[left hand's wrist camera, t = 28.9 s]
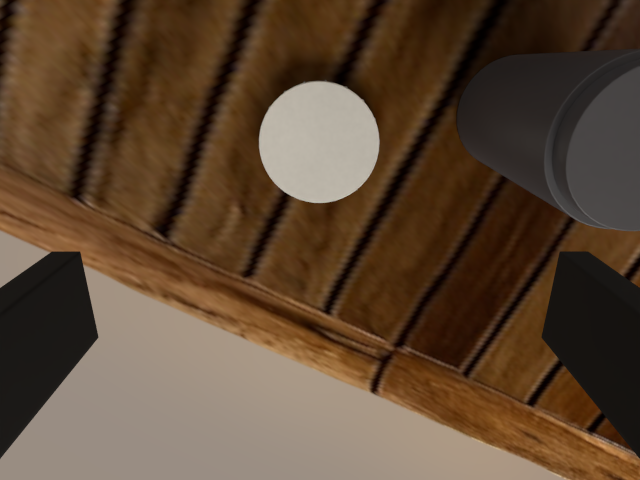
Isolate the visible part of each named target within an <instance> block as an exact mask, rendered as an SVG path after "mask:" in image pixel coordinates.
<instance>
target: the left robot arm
mask: <svg viewBox="0 0 640 480" xmlns="http://www.w3.org/2000/svg"><path fill="white" fill-rule="evenodd" d="M97 338H98V333H97V329H96V324H95V319H94V314H93V310H92V305H91V300H90V296H89V291H88V286H87V282H86V277H85V272H84V268H83V263H82V258H81V253H80V252H51V253H50V254H48V255H47V256H45V257H44V258H42V259H41V260H40V261H38V262H37V263H35V264H34V265H32V266H31V267H30V268H28V269H27V270H25V271H24V272H22V273H21V274H20V275H18V276H17V277H15V278H14V279H12V280H11V281H10V282H8V283H7V284H5V285H4V286H2V287H1V288H0V458H1V457H2V456H3V455H4V453H5V452H6V451H7V450H8V448H9V447H10V446H11V445H12V443H13V442H14V441H15V440H16V438H17V437H18V436H19V435H20V434H21V432H22V431H23V430H24V429H25V427H26V426H27V425H28V424H29V422H30V421H31V420H32V419H33V418H34V416H35V415H36V414H37V413H38V411H39V410H40V409H41V408H42V406H43V405H44V404H45V403H46V401H47V400H48V399H49V398H50V397H51V395H52V394H53V393H54V391H55V390H56V389H57V388H58V387H59V385H60V384H61V383H62V382H63V380H64V379H65V378H66V377H67V375H68V374H69V373H70V372H71V371H72V369H73V368H74V367H75V366H76V364H77V363H78V362H79V361H80V359H81V358H82V357H83V356H84V354H85V353H86V352H87V351H88V350H89V348H90V347H91V346H92V345H93V343H94V342H95V341H96V340H97ZM542 339H543V340H544V341H545V342H546V343H547V345H548V346H549V347H550V348H551V350H552V351H553V352H554V353H555V355H556V356H557V357H558V358H559V360H560V361H561V362H562V363H563V364H564V366H565V367H566V368H567V369H568V371H569V372H570V373H571V374H572V376H573V377H574V378H575V379H576V380H577V382H578V383H579V384H580V385H581V387H582V388H583V389H584V390H585V392H586V393H587V394H588V395H589V397H590V398H591V399H592V400H593V401H594V403H595V404H596V405H597V406H598V408H599V409H600V410H601V411H602V413H603V414H604V415H605V416H606V418H607V419H608V420H609V421H610V422H611V424H612V425H613V426H614V427H615V429H616V430H617V431H618V432H619V434H620V435H621V436H622V437H623V438H624V440H625V441H626V442H627V443H628V445H629V446H630V447H631V448H632V450H633V451H634V452H635V453H636V455H637V456H638V457H639V458H640V288H639V287H638V286H636V285H635V284H633V283H632V282H630V281H629V280H628V279H626V278H625V277H623V276H622V275H620V274H619V273H618V272H616V271H615V270H613V269H612V268H610V267H609V266H608V265H606V264H605V263H603V262H602V261H600V260H599V259H598V258H596V257H595V256H593V255H592V254H590V253H589V252H560V253H559V258H558V263H557V268H556V272H555V277H554V282H553V286H552V291H551V296H550V300H549V305H548V310H547V314H546V319H545V324H544V329H543V333H542Z"/></svg>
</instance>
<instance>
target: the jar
mask: <svg viewBox="0 0 640 480" xmlns="http://www.w3.org/2000/svg"><path fill="white" fill-rule="evenodd" d="M457 128H458V133H459V136H460V139H461V141H462V143H463V145H464V147H465V148H466V150H467V151H468V152H469V153H470V154H471V155H472V156H473V157H474V158H475V159H477V160H479V161H480V162H482V163H483V164H485V165H487V166H488V167H490V168H492V169H493V170H495V171H497V172H498V173H500V174H502V175H503V176H505V177H506V178H508V179H510V180H511V181H513V182H515V183H516V184H518V185H520V186H521V187H523V188H525V189H526V190H528V191H529V192H531V193H533V194H534V195H536V196H538V197H539V198H541V199H543V200H544V201H546V202H547V203H549V204H551V205H552V206H554V207H556V208H557V209H559V210H561V211H562V212H564V213H566V214H567V215H569V216H570V217H572V218H574V219H575V220H577V221H579V222H581V223H584V224H586V225H589V226H593V227H597V228H604V229H616V230H623V231H640V49H625V50H604V51H583V52H562V53H541V54H520V55H511V56H506V57H503V58H500V59H498V60H495V61H493V62H492V63H490V64H488V65H487V66H485V67H484V68H483V69H481V70H480V71H479V72H478V73H477V74H476V75H475V76H474V77H473V78H472V80H471V81H470V82H469V84H468V85H467V87H466V88H465V90H464V92H463V94H462V96H461V99H460V102H459V106H458V111H457Z"/></svg>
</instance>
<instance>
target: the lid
mask: <svg viewBox="0 0 640 480" xmlns="http://www.w3.org/2000/svg"><path fill="white" fill-rule="evenodd" d="M375 120H376V119H375V118H374V116H373V114H372V112H371V111H370V109H369V107H368V106H367V105H366V104H365V102H364V100H363V99H361V98H360V97H359V96H358V95H356V94H355V93H354V92H353V91H351V90H350V89H348V87H347V86H345V87H344V86H342V85H340V84H337V83H334V82H328V81H327V80H325V81H310V82H303V83H302V84H299V85H296V86H294V87H292V88H291V89H289V90H287V91H286V90H285V91H284V93H283V94H282V95H281V96H279V97H278V98H277V99H276V100H275V101H274V103H273V104H272V105H271V106H270V107H269V109H268V111H267V113H266V115H265V117H264V119H263V122H262V125H261V126H260V128H261V129H260V135H259V149H260V155H261V159H262V162H263V165H264V167H265V169H266V171H267V173H268V175H269V176H270V178H271V179H272V180H273V182H274V183H275V184H276V185H277V186H278V187H279V188H281V189H282V190H283V191H284V192H286V193H287V194H289V195H291V196H293V197H295V198H297V199H300V200H303V201H307V202H313V203H324V202H331V201H336V200H339V199H341V198H344V197H346V196H348V195H350V194H351V193H353V192H354V191H356V190H357V189H358V188H359V187H360V186H361V185H362V184H363V183H364V182H365V181H366V180H367V178H368V177H369V175H370V174H371V172H372V170H373V168H374V166H375V163H376V161H377V157H378V152H379V141H380V139H379V133H378V127H377V124H376V121H375Z"/></svg>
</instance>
